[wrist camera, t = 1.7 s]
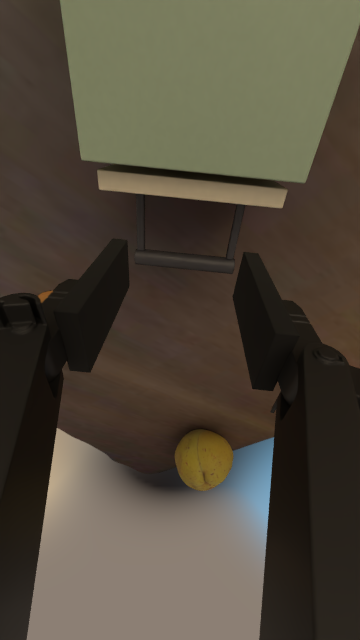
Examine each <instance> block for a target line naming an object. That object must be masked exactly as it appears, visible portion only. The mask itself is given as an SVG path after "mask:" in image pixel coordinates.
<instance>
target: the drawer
mask: <svg viewBox="0 0 360 640" xmlns="http://www.w3.org/2000/svg"><path fill="white" fill-rule="evenodd" d="M97 174H98V183H99V189H100V190H107V191H117V192H127V193H136V207H137V249H136V250H135V264H140V265H150V266H160V267H169V268H179V269H189V270H199V271H209V272H218V273H228V274H232V273H233V271H234V266H235V259H234V258H233V257H234V253H235V248H236V244H237V239H238V235H239V231H240V226H241V222H242V217H243V213H244V208H245V205H253V206H263V207H272V208H282V207H283V204H284V200H285V197H286V194H287V191H288V189H286V188H285V187H283V186H281V185H280V184H278V183H276V182H275V181H273V180H266V179H256V178H246V177H237V176H227V175H217V174H207V173H198V172H188V171H178V170H169V169H159V168H149V167H140V166H130V165H120V164H113V165H110V166H107V167H104V168H101V169H98V170H97ZM145 194H146V195H156V196H165V197H175V198H185V199H195V200H204V201H214V202H224V203H234V204H237V205H236V210H235V215H234V219H233V224H232V229H231V234H230V239H229V244H228V249H227V254H226V258H225V257H216V256H206V255H196V254H186V253H176V252H167V251H157V250H147V249H145Z"/></svg>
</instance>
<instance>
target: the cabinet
mask: <svg viewBox="0 0 360 640" xmlns="http://www.w3.org/2000/svg"><path fill="white" fill-rule="evenodd" d="M60 5H61V13H62V20H63V27H64V35H65V42H66V50H67V57H68V65H69V72H70V80H71V87H72V95H73V102H74V110H75V117H76V124H77V132H78V139H79V147H80V154H81V160H83V161H91V162H101V163H111V164H120V165H130V166H140V167H149V168H159V169H169V170H178V171H188V172H198V173H207V174H217V175H227V176H237V177H246V178H256V179H266V180H275V181H285V182H295V183H305V182H306V179H307V176H308V174H309V171H310V168H311V165H312V162H313V159H314V156H315V153H316V150H317V147H318V144H319V142H320V139H321V136H322V133H323V130H324V127H325V124H326V121H327V118H328V115H329V112H330V110H331V107H332V104H333V101H334V98H335V95H336V92H337V89H338V86H339V83H340V80H341V78H342V75H343V72H344V69H345V66H346V63H347V60H348V57H349V54H350V51H351V49H352V46H353V43H354V40H355V37H356V34H357V31H358V28H359V25H360V0H60Z"/></svg>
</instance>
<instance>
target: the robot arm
mask: <svg viewBox="0 0 360 640" xmlns="http://www.w3.org/2000/svg"><path fill="white" fill-rule="evenodd" d="M128 288H129V266H128V245H127V240H121V239H112V240H111V241H110V243H109V244H108V245H107V246H106V247H105V249H104V250H103V251H102V252H101V253H100V255H99V256H98V257H97V258H96V260H95V261H94V262H93V263H92V264H91V266H90V267H89V268H88V269H87V270H86V272H85V273H84V274H83V275H82V276H81V278H80V279H79V280H73V279H68V280H66V281H64V282H63V283H61V284H59V285H58V286H57V287H56V288H55V289H54V290H53V292H51V293H50V295H49V296H48V298H46V299H45V300H44V301H43V302H42V303H41V300H40V298H39V297H38V296H36V295H34V294H30V293H17V294H11V295H7V296H4V297H1V298H0V640H26V639H27V632H28V625H29V618H30V611H31V604H32V597H33V590H34V583H35V576H36V568H37V562H38V555H39V548H40V541H41V533H42V527H43V520H44V513H45V505H46V499H47V492H48V485H49V478H50V471H51V464H52V457H53V450H54V443H55V436H56V429H57V422H58V415H59V408H60V401H61V394H62V387H63V380H64V377H63V372H62V368H63V366H64V364H65V363H66V361H67V362H68V365H69V369H70V371H79V372H89V373H90V372H91V370H92V368H93V365H94V363H95V361H96V359H97V357H98V354H99V352H100V350H101V348H102V346H103V343H104V341H105V339H106V337H107V335H108V332H109V330H110V328H111V326H112V324H113V321H114V319H115V317H116V315H117V313H118V310H119V308H120V306H121V304H122V302H123V299H124V297H125V295H126V293H127V291H128ZM233 301H234V305H235V310H236V315H237V319H238V324H239V328H240V333H241V338H242V342H243V347H244V352H245V356H246V361H247V366H248V370H249V375H250V380H251V384H252V389H258V390H268V391H273V389H274V387H275V385H276V383H277V381H278V383H279V386H280V389H281V392H280V394H279V396H278V398H277V400H276V401H275V403H274V405H273V407H272V410H271V412H272V413H274V412H275V410H276V421H275V435H274V448H273V462H272V475H271V476H272V477H271V489H270V503H269V516H268V529H267V543H266V557H265V570H264V584H263V597H262V610H261V624H260V638H259V640H360V369H359V368H355V367H352V366H350V365H349V363H348V362H347V360H346V358H345V357H344V356H343V355H342V354H341V353H340V352H339V351H337V350H336V349H334V348H332V347H330V346H328V345H325V344H322V342H321V340H320V339H319V337H318V335H317V334H316V332H315V330H314V329H313V327H312V325H311V324H309V323H310V322H309V320H308V319H307V317H306V315H305V314H304V312H303V310H302V309H301V308H300V307H299V306H298V305H297V304H296V303H294V302H293V301H287V300H282V299H281V297H280V295H279V293H278V291H277V289H276V287H275V285H274V283H273V281H272V279H271V278H270V276H269V274H268V272H267V270H266V268H265V266H264V264H263V262H262V260H261V258H260V256H259V254H258V253H248V252H244V253H243V257H242V261H241V265H240V269H239V273H238V277H237V281H236V285H235V289H234V294H233Z"/></svg>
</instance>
